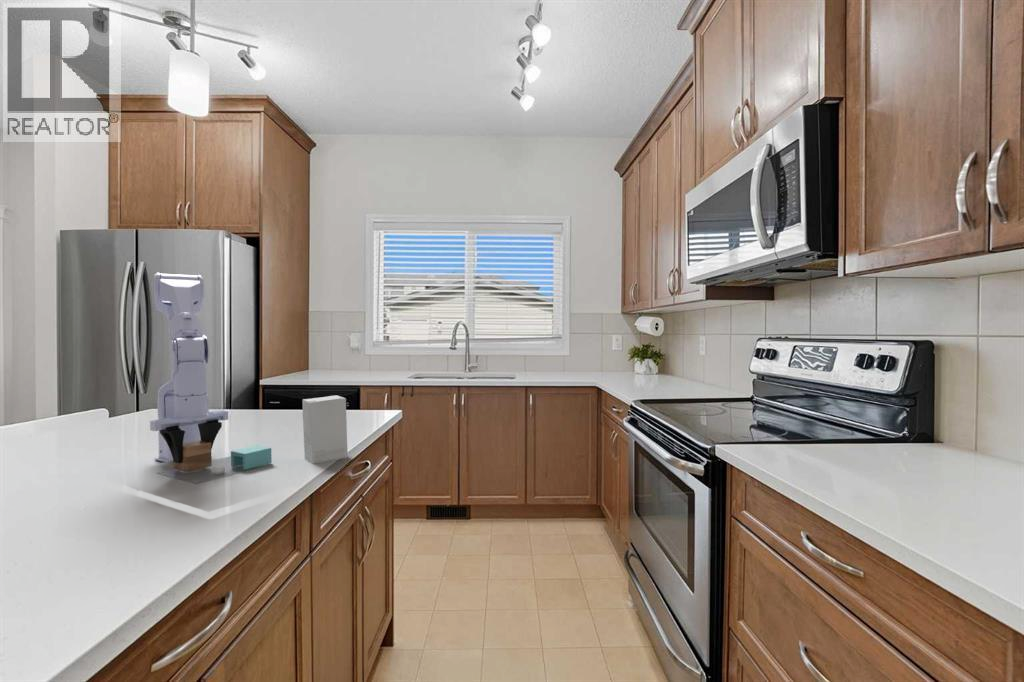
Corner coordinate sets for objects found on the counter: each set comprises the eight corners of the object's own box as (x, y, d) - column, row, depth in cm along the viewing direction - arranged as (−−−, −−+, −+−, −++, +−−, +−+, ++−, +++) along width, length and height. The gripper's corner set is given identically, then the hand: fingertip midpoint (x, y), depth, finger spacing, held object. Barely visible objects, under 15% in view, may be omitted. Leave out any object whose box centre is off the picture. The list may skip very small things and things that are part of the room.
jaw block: (173, 468, 105) (173, 444, 104) (198, 463, 109) (197, 440, 109) (186, 471, 102) (186, 447, 102) (211, 466, 106) (211, 442, 106)
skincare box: (339, 457, 119) (338, 394, 119) (348, 462, 115) (347, 397, 114) (302, 463, 114) (301, 397, 114) (311, 468, 109) (310, 400, 109)
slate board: (156, 477, 103) (155, 460, 103) (232, 460, 117) (232, 445, 117) (196, 489, 96) (196, 470, 96) (273, 468, 110) (272, 452, 109)
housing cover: (231, 466, 107) (230, 451, 107) (257, 460, 112) (257, 445, 112) (245, 469, 105) (244, 453, 104) (271, 462, 110) (271, 447, 110)
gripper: (162, 400, 97) (164, 470, 97) (235, 391, 109) (237, 453, 110) (144, 397, 100) (145, 465, 101) (217, 390, 113) (218, 450, 113)
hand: (192, 459), depth 105 cm, fingers closed on jaw block, 5 cm apart
